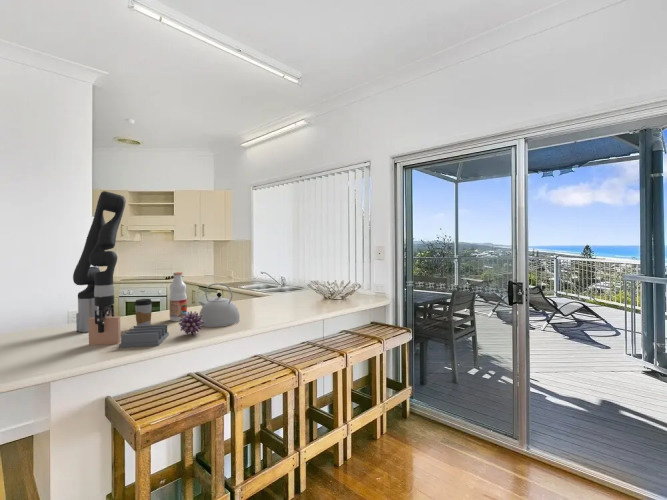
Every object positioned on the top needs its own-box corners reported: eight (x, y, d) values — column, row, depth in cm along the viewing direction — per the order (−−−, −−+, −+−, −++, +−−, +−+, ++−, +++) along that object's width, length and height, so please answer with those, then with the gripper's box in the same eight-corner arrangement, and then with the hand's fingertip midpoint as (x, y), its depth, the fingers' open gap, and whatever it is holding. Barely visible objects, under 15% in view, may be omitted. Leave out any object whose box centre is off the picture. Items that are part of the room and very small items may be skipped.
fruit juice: (170, 318, 205) (169, 272, 204) (187, 317, 208) (186, 271, 207) (168, 321, 196) (168, 273, 195) (186, 320, 199) (186, 273, 198)
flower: (190, 330, 177) (189, 308, 177) (209, 332, 173) (209, 309, 173) (173, 336, 166) (173, 312, 166) (193, 338, 162) (193, 314, 162)
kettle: (186, 324, 190) (185, 284, 189) (211, 316, 211) (211, 280, 211) (224, 328, 182) (224, 286, 182) (247, 318, 204) (246, 281, 203)
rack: (119, 347, 149) (119, 335, 149) (133, 336, 165) (133, 325, 165) (158, 345, 152) (158, 333, 152) (168, 335, 169) (168, 324, 169)
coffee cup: (155, 325, 187) (155, 298, 187) (146, 329, 179) (145, 301, 178) (141, 325, 188) (141, 298, 187) (131, 329, 180) (130, 301, 179)
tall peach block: (88, 345, 153) (88, 318, 152) (91, 343, 155) (91, 317, 155) (118, 343, 155) (117, 317, 155) (120, 341, 158) (120, 316, 157)
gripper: (102, 292, 161) (102, 326, 161) (87, 297, 147) (88, 335, 147) (119, 292, 162) (120, 326, 163) (106, 296, 149) (107, 334, 149)
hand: (105, 330), depth 155 cm, fingers open, 7 cm apart
